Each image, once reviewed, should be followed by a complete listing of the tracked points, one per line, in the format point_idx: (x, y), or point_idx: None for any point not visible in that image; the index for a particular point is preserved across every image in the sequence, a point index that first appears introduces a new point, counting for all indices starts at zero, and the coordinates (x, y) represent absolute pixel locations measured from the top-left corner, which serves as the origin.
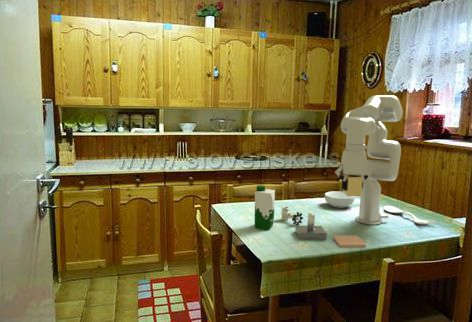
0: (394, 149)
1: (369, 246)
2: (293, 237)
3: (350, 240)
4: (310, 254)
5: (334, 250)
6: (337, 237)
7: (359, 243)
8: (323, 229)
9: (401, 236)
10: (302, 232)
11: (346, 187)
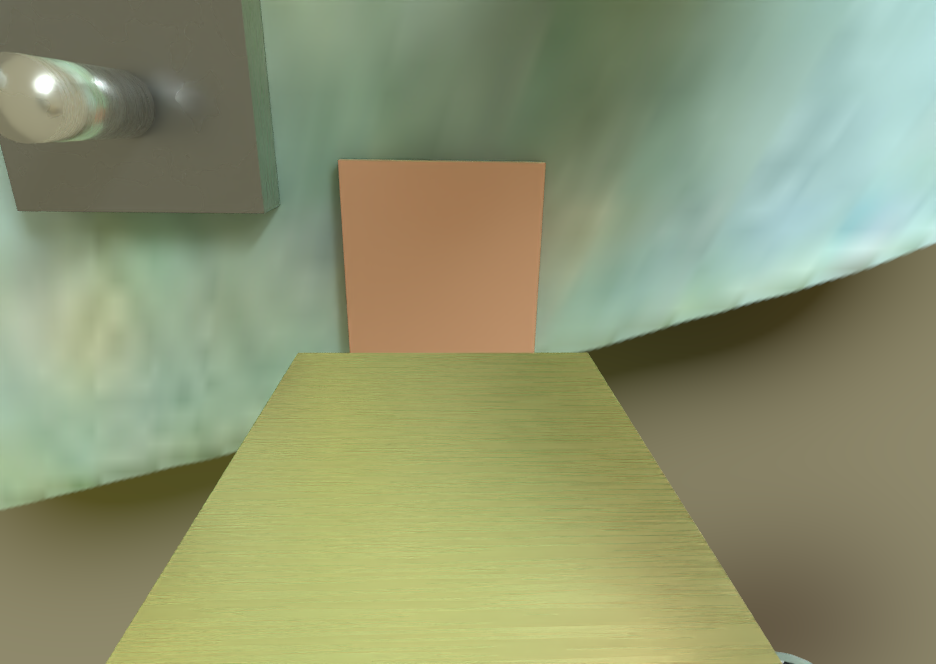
0: None
1: (563, 332)
2: None
3: (452, 271)
4: (137, 461)
5: None
6: (367, 206)
7: (498, 328)
8: (248, 112)
9: (929, 120)
10: (43, 200)
11: None
